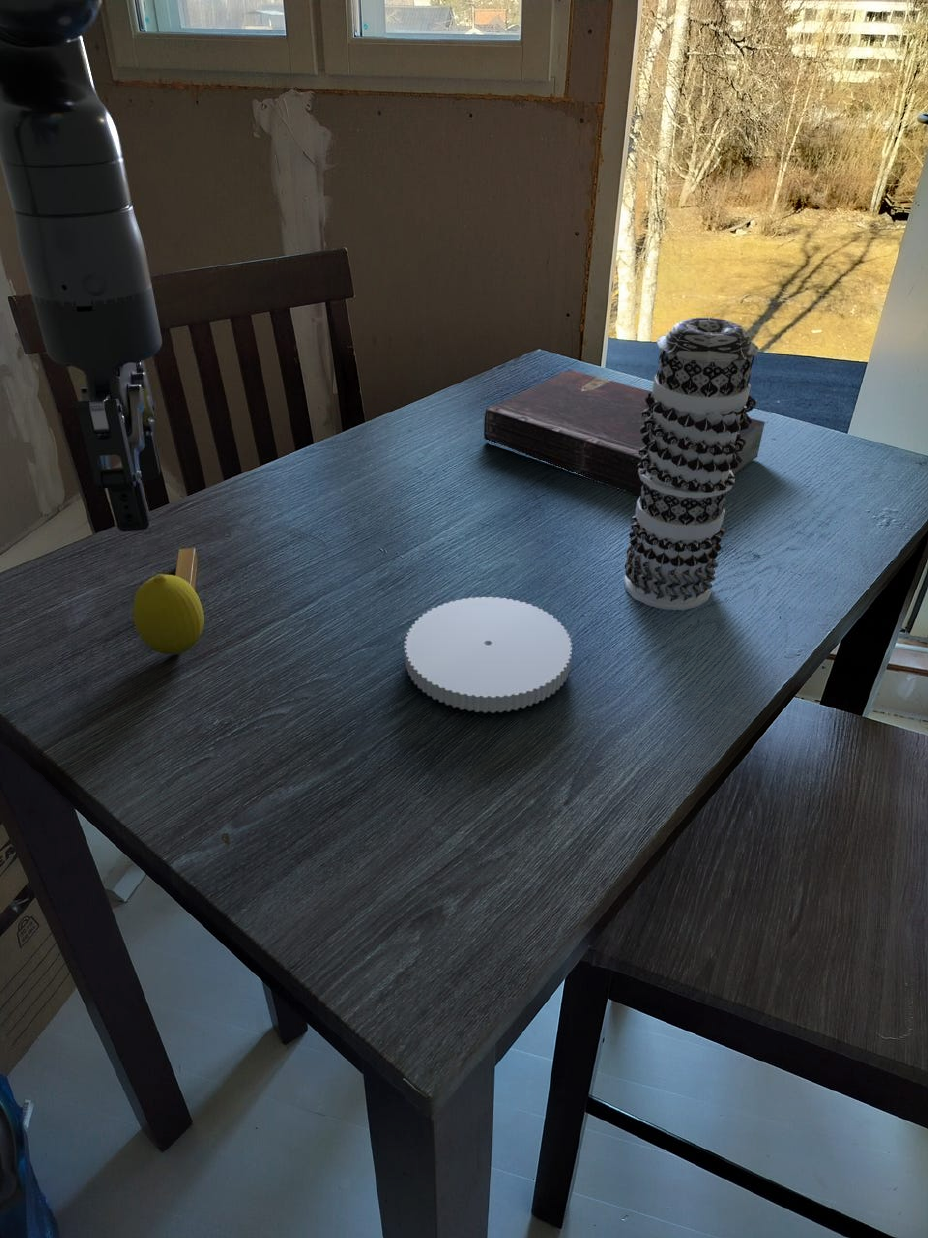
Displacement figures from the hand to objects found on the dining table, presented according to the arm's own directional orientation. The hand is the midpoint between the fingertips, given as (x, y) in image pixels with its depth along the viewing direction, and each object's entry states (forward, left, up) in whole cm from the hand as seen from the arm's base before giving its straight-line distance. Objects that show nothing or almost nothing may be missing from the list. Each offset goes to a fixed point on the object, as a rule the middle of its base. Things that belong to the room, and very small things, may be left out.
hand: (141, 502), depth 65 cm
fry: (0, +11, -15) cm, 18 cm away
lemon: (0, 0, -15) cm, 15 cm away
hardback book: (+52, +33, -15) cm, 63 cm away
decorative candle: (+46, +2, -15) cm, 49 cm away
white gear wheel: (+26, -7, -15) cm, 31 cm away
